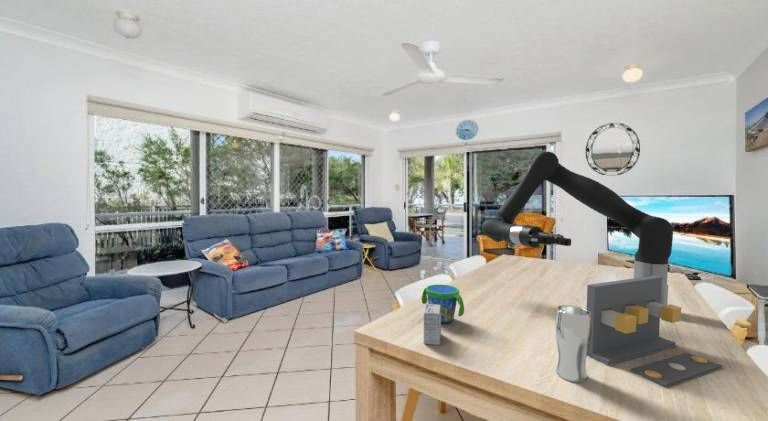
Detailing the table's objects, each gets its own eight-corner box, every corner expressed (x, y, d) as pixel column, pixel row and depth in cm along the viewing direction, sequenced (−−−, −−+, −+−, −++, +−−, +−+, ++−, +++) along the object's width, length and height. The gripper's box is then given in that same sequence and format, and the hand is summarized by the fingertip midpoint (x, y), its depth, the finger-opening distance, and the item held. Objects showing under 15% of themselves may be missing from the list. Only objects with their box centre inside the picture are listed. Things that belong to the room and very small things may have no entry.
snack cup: (471, 324, 104) (472, 291, 104) (448, 331, 98) (448, 297, 98) (436, 309, 117) (436, 280, 116) (413, 315, 111) (414, 285, 110)
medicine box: (439, 346, 89) (440, 314, 89) (423, 344, 90) (423, 312, 90) (440, 333, 97) (441, 304, 96) (425, 332, 98) (425, 303, 97)
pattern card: (686, 354, 85) (686, 351, 85) (721, 367, 79) (722, 364, 79) (630, 371, 77) (630, 367, 77) (665, 387, 71) (665, 383, 71)
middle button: (610, 310, 94) (610, 296, 94) (648, 323, 85) (649, 307, 85) (600, 312, 93) (601, 298, 93) (638, 325, 84) (639, 309, 84)
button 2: (640, 309, 95) (640, 295, 95) (680, 321, 86) (681, 306, 86) (631, 311, 94) (631, 297, 94) (671, 323, 85) (672, 308, 85)
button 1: (597, 317, 89) (597, 303, 88) (636, 332, 80) (637, 315, 79) (586, 319, 87) (587, 304, 87) (625, 334, 78) (626, 318, 78)
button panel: (635, 332, 99) (638, 272, 98) (675, 346, 90) (679, 280, 89) (570, 347, 89) (573, 280, 88) (608, 365, 80) (611, 291, 79)
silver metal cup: (547, 367, 78) (549, 305, 78) (575, 366, 79) (578, 304, 78) (566, 384, 71) (569, 316, 71) (597, 383, 72) (599, 315, 71)
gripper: (511, 225, 116) (554, 231, 100) (540, 224, 121) (585, 229, 105) (511, 247, 116) (553, 256, 100) (539, 245, 121) (584, 253, 105)
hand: (569, 242), depth 102 cm, fingers closed
